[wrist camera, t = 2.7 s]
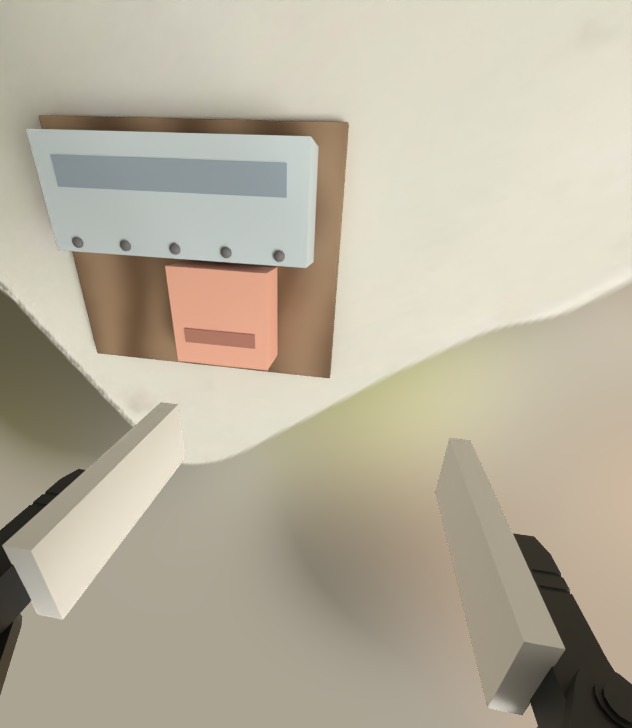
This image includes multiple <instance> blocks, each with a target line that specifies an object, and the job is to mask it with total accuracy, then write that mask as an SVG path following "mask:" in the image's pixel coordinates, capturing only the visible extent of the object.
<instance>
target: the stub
mask: <svg viewBox="0 0 632 728" xmlns="http://www.w3.org/2000/svg"><path fill="white" fill-rule="evenodd" d="M165 270H166V277H167V284H168V291H169V299H170V306H171V313H172V320H173V328H174V335H175V342H176V349H177V357H178V361H184V362H193V363H202V364H211V365H221V366H230V367H239V368H248V369H258V370H267V371H268V369H269V367H270V366H271V364H272V363H273V361H274V360H275V358H276V357H277V355H278V324H277V267H269V266H255V265H241V264H227V263H213V262H199V261H183V262H179V263H175V264H171V265H167V266H165Z"/></svg>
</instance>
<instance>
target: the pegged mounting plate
mask: <svg viewBox="0 0 632 728" xmlns="http://www.w3.org/2000/svg"><path fill="white" fill-rule="evenodd" d="M26 131H27V135H28V139H29V143H30V147H31V150H32V154H33V158H34V162H35V166H36V169H37V173H38V177H39V181H40V185H41V188H42V192H43V196H44V200H45V204H46V207H47V211H48V215H49V219H50V222H51V226H52V230H53V234H54V238H55V241H56V245H57V249H58V250H62V251H76V252H90V253H104V254H118V255H132V256H146V257H160V258H174V259H188V260H202V261H216V262H229V263H243V264H257V265H271V266H285V267H299V268H307V267H308V266H309V265H310V264H312V263H313V262H314V240H315V217H316V194H317V171H318V148H319V147H318V145H317V144H316V143H315V141H314V140H313V139H312V137H311V136H279V135H242V134H205V133H168V132H132V131H95V130H58V129H26Z"/></svg>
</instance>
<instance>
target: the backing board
mask: <svg viewBox="0 0 632 728" xmlns="http://www.w3.org/2000/svg"><path fill="white" fill-rule="evenodd" d="M39 118H40V122H41V126H42V129H58V130H95V131H132V132H168V133H205V134H242V135H279V136H311V137H312V139H313V140H314V141H315V143H316V144H317V145H318V147H319V148H318V171H317V194H316V217H315V240H314V262H313V263H312V264H310V265H309V266H308V267H307V268H299V267H285V266H271V265H257V264H243V263H229V262H216V261H202V260H188V259H174V258H160V257H146V256H132V255H118V254H104V253H90V252H76V251H72V252H73V256H74V260H75V264H76V268H77V272H78V276H79V280H80V284H81V288H82V292H83V296H84V300H85V305H86V309H87V313H88V317H89V321H90V325H91V329H92V333H93V337H94V341H95V345H96V349H97V353H101V354H110V355H119V356H128V357H138V358H147V359H156V360H165V361H174V362H184V361H178V357H177V349H176V342H175V335H174V328H173V320H172V313H171V306H170V299H169V291H168V284H167V277H166V270H165V266H167V265H171V264H175V263H179V262H183V261H199V262H213V263H227V264H241V265H255V266H269V267H277V324H278V355H277V357H276V358H275V360H274V361H273V363H272V364H271V366H270V367H269V369H268V371H267V370H258V369H248V368H239V367H230V366H221V365H211V364H202V363H193V362H184V363H193V364H202V365H211V366H221V367H230V368H239V369H248V370H258V371H267V372H276V373H285V374H294V375H304V376H313V377H322V378H330V372H331V358H332V345H333V331H334V318H335V304H336V290H337V277H338V263H339V250H340V236H341V223H342V209H343V196H344V182H345V169H346V155H347V141H348V128H349V124H348V122H313V121H267V120H222V119H177V118H131V117H86V116H41V115H39Z"/></svg>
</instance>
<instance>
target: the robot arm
mask: <svg viewBox="0 0 632 728" xmlns="http://www.w3.org/2000/svg"><path fill="white" fill-rule="evenodd" d="M185 458H186V454H185V448H184V441H183V434H182V427H181V420H180V414H179V407H178V405H177V404H169V403H160V404H159V405H158V406H157V407H155V408H154V409H153V410H152V411H151V412H150V413H149V414H148V415H147V416H145V417H144V418H143V419H142V420H141V421H140V422H139V423H138V424H137V425H135V426H134V427H133V428H132V429H131V430H130V431H129V432H128V433H127V434H125V436H123V437H122V438H121V439H120V440H119V441H118V442H117V443H115V444H114V445H113V446H112V447H111V448H110V449H109V450H108V451H107V452H105V453H104V454H103V455H102V456H101V457H100V458H99V459H98V460H96V461H95V462H94V463H93V464H92V465H91V466H90V467H89V468H88V469H86V470H81V469H78V470H76V471H74V472H72V473H71V474H69V475H67V476H65V477H63V478H61V479H60V480H59V481H57V482H56V483H55V484H54V485H53V486H52V487H50V488H49V489H48V490H47V491H46V493H45V494H43V495H41V496H40V497H39V498H38V499H36V500H35V501H34V502H33V504H32V505H29V506H28V507H27V508H26V509H25V510H24V511H22V512H21V513H20V514H19V515H18V516H17V517H15V518H14V519H13V520H12V521H11V522H9V523H8V524H7V525H6V526H5V527H4V528H2V529H1V530H0V694H1V690H2V687H3V684H4V681H5V678H6V674H7V671H8V668H9V665H10V661H11V658H12V654H13V651H14V648H15V644H16V642H17V638H18V635H19V632H20V628H21V624H22V616H21V614H20V613H21V612H22V610H23V609H24V608H25V607H26V606H27V605H28V604H29V603H30V601H31V603H32V605H33V607H34V609H35V611H36V613H37V614H38V615H43V616H47V617H53V618H57V619H64V618H65V616H66V615H67V614H68V612H69V611H70V610H71V608H72V607H73V606H74V604H75V603H76V602H77V600H78V599H79V598H80V596H81V595H82V594H83V592H84V591H85V590H86V588H87V587H88V586H89V585H90V583H91V582H92V581H93V579H94V578H95V577H96V575H97V574H98V573H99V571H100V570H101V569H102V567H103V566H104V565H105V563H106V562H107V561H108V559H109V558H110V557H111V555H112V554H113V553H114V551H115V550H116V549H117V547H118V546H119V545H120V543H121V542H122V541H123V540H124V538H125V537H126V536H127V534H128V533H129V531H130V530H131V529H132V528H133V526H134V525H135V524H136V522H137V521H138V520H139V518H140V517H141V516H142V514H143V513H144V512H145V510H146V509H147V508H148V507H149V505H150V504H151V503H152V501H153V500H154V499H155V497H156V496H157V495H158V493H159V492H160V491H161V489H162V488H163V487H164V485H165V484H166V483H167V481H168V480H169V479H170V477H171V476H172V475H173V473H174V472H175V471H176V470H177V468H178V467H179V466H180V464H181V463H182V462H183V460H184V459H185ZM435 493H436V497H437V502H438V505H439V510H440V514H441V518H442V522H443V526H444V531H445V535H446V539H447V543H448V547H449V551H450V555H451V559H452V563H453V567H454V572H455V576H456V580H457V584H458V588H459V592H460V597H461V601H462V605H463V609H464V613H465V617H466V621H467V626H468V629H469V634H470V638H471V642H472V646H473V650H474V654H475V658H476V663H477V667H478V671H479V675H480V679H481V683H482V688H483V692H484V696H485V700H486V704H487V708H490V709H495V710H500V711H504V712H509V713H514V714H519V715H523V713H524V712H525V710H526V709H527V707H528V706H529V704H530V703H531V706H532V709H533V712H534V714H535V718H536V721H537V724H538V727H537V728H632V684H631V683H629V682H628V681H627V680H626V679H624V678H623V677H622V676H621V675H620V674H618V673H616V672H615V671H614V670H613V668H612V666H611V665H610V663H609V662H608V660H607V658H606V656H605V655H604V653H603V651H602V649H601V647H600V645H599V643H598V642H597V640H596V638H595V636H594V634H593V632H592V631H591V629H590V627H589V625H588V623H587V621H586V619H585V618H584V616H583V614H582V612H581V610H580V608H579V606H578V604H577V603H576V601H575V599H574V597H573V595H572V594H570V590H569V588H568V586H567V584H566V582H565V580H564V579H563V578H562V577H561V573H560V571H559V569H558V567H557V565H556V564H555V562H554V560H553V558H552V556H551V554H550V553H549V552H548V551H547V550H546V549H545V548H544V547H543V546H542V545H541V544H540V543H539V541H538V540H537V539H536V538H535V537H533V536H526V535H519V534H513V533H512V531H511V528H510V526H509V524H508V522H507V519H506V517H505V515H504V513H503V511H502V509H501V506H500V504H499V502H498V500H497V498H496V495H495V493H494V491H493V489H492V487H491V484H490V482H489V480H488V478H487V476H486V474H485V471H484V469H483V467H482V465H481V462H480V460H479V458H478V456H477V454H476V451H475V449H474V447H473V445H472V443H471V441H470V440H463V439H455V438H449V442H448V445H447V449H446V453H445V457H444V461H443V464H442V468H441V472H440V476H439V480H438V484H437V487H436V491H435Z"/></svg>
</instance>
